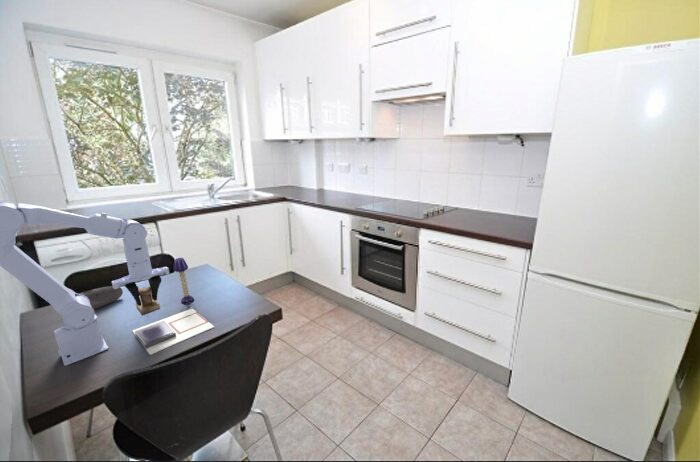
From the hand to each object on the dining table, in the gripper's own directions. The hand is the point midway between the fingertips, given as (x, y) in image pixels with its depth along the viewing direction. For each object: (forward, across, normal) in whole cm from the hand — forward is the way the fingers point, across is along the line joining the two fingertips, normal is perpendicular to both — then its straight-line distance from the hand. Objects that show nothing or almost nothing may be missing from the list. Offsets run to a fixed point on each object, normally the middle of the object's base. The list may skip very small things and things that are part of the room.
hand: (147, 302), depth 97 cm
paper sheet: (+9, +4, -6) cm, 12 cm away
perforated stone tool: (+9, -7, +30) cm, 32 cm away
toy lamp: (+9, +14, +9) cm, 19 cm away
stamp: (+3, 0, +1) cm, 3 cm away
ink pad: (+9, -1, -6) cm, 11 cm away
